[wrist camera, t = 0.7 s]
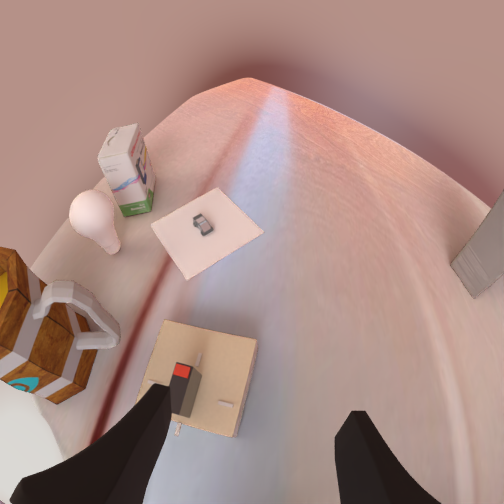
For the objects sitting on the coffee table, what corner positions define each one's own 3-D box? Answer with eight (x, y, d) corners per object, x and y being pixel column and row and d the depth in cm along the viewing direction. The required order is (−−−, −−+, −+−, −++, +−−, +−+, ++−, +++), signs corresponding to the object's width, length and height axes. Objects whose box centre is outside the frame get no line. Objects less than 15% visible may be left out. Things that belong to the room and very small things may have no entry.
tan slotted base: (233, 449, 24) (228, 451, 22) (142, 421, 26) (129, 418, 23) (258, 348, 30) (256, 338, 28) (172, 329, 32) (163, 318, 30)
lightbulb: (91, 263, 39) (53, 212, 30) (110, 231, 42) (80, 178, 33) (121, 272, 37) (83, 218, 28) (141, 237, 41) (111, 181, 32)
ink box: (131, 183, 49) (108, 128, 39) (158, 177, 49) (138, 120, 39) (123, 218, 44) (93, 160, 34) (153, 212, 44) (127, 150, 34)
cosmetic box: (476, 245, 36) (524, 168, 23) (502, 280, 32) (560, 209, 19) (446, 265, 34) (500, 180, 21) (474, 305, 30) (542, 229, 17)
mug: (23, 403, 26) (-61, 364, 14) (28, 315, 34) (-37, 258, 22) (146, 400, 27) (62, 361, 15) (139, 294, 35) (81, 213, 23)
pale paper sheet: (187, 280, 36) (184, 274, 35) (149, 224, 42) (146, 218, 41) (264, 232, 40) (264, 224, 38) (217, 187, 46) (215, 180, 45)
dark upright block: (190, 418, 24) (177, 414, 21) (174, 413, 24) (160, 408, 21) (202, 375, 26) (192, 365, 23) (187, 370, 26) (175, 360, 23)
